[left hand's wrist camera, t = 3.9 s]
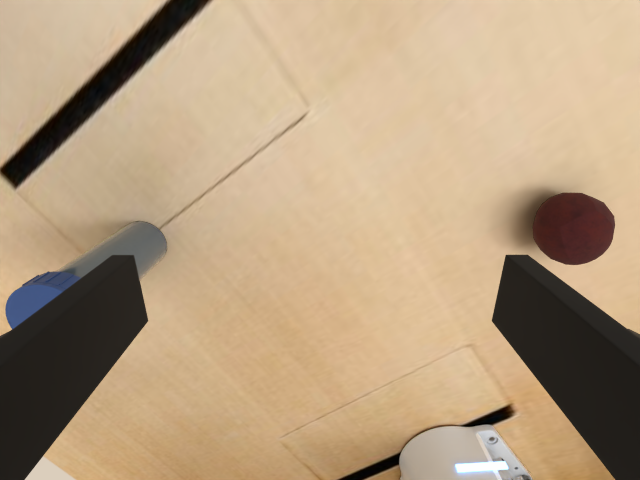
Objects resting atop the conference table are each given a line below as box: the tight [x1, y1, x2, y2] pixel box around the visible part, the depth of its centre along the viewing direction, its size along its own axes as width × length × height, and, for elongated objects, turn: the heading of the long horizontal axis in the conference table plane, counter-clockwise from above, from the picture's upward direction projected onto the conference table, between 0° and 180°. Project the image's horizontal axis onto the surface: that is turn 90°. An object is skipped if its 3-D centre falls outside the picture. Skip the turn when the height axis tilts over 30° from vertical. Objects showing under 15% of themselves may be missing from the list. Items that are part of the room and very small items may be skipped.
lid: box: [6, 271, 81, 329], centre depth 28 cm, size 6×6×2 cm
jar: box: [55, 222, 167, 280], centre depth 35 cm, size 6×6×16 cm
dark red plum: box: [533, 193, 615, 265], centre depth 38 cm, size 7×8×7 cm
